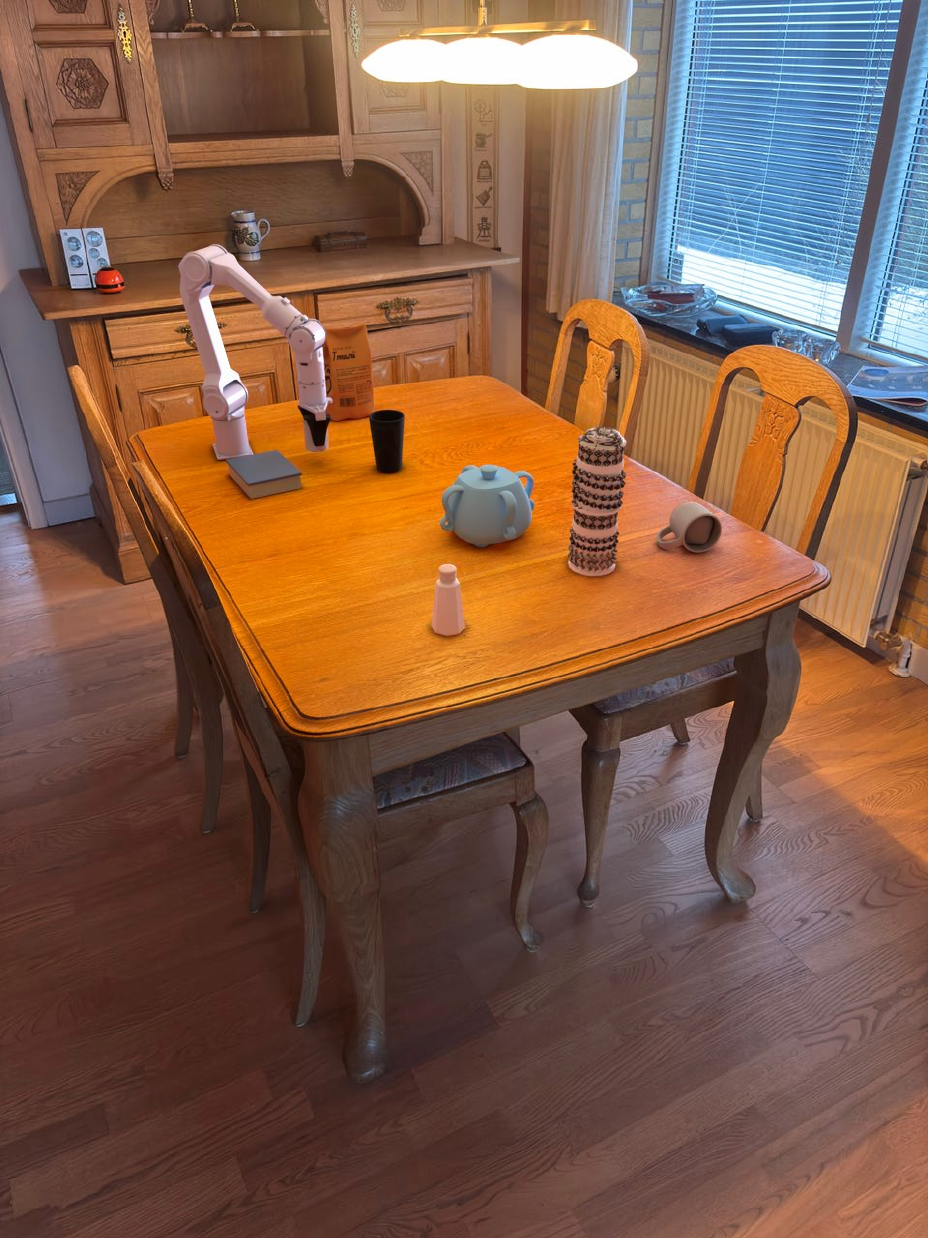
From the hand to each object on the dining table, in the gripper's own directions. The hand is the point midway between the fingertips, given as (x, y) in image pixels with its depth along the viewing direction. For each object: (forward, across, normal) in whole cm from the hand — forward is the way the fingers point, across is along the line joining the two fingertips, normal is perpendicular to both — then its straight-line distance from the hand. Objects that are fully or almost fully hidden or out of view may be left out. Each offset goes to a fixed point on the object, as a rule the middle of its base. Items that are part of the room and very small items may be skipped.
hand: (316, 441), depth 204 cm
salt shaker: (+5, -74, -5) cm, 74 cm away
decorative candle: (+5, -63, -36) cm, 73 cm away
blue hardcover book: (+5, -6, +13) cm, 15 cm away
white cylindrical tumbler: (+2, 0, 0) cm, 2 cm away
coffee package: (+5, +29, -14) cm, 33 cm away
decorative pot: (+5, -45, -23) cm, 51 cm away
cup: (+5, -8, -14) cm, 17 cm away
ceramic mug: (+5, -62, -56) cm, 84 cm away
